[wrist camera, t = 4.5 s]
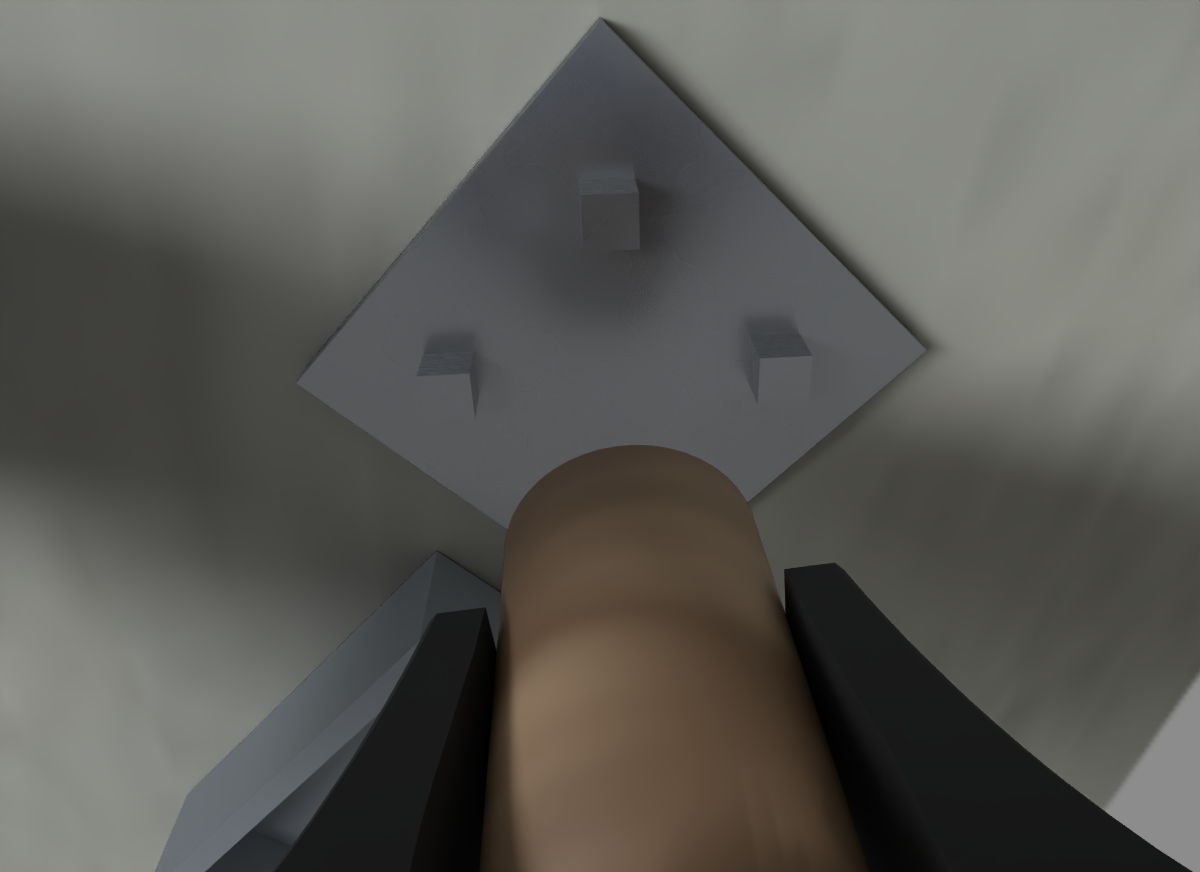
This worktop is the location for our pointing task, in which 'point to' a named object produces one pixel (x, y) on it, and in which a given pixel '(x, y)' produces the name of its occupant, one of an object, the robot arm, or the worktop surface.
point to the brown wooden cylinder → (652, 685)
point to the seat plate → (607, 304)
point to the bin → (313, 733)
